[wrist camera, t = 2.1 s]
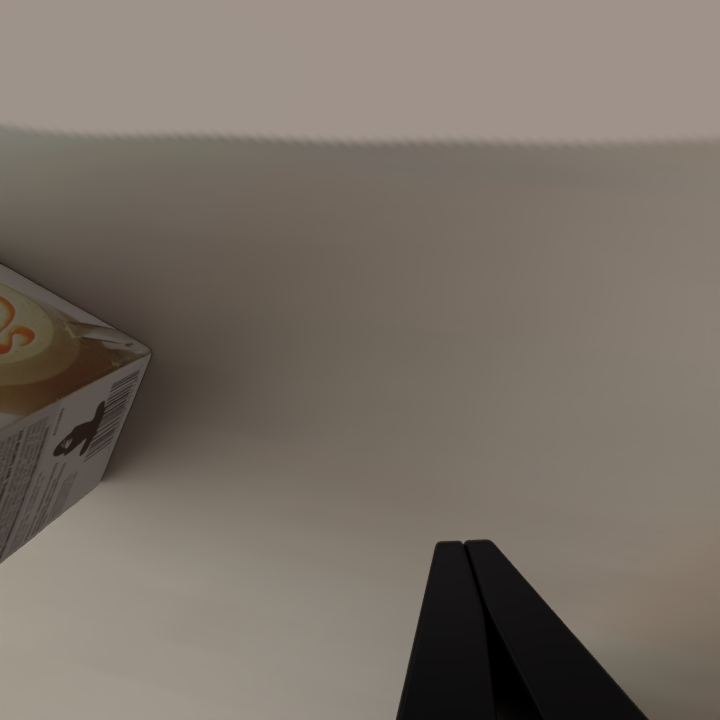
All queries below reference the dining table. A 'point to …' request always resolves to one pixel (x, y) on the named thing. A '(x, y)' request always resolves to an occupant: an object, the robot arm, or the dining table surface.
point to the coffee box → (56, 404)
